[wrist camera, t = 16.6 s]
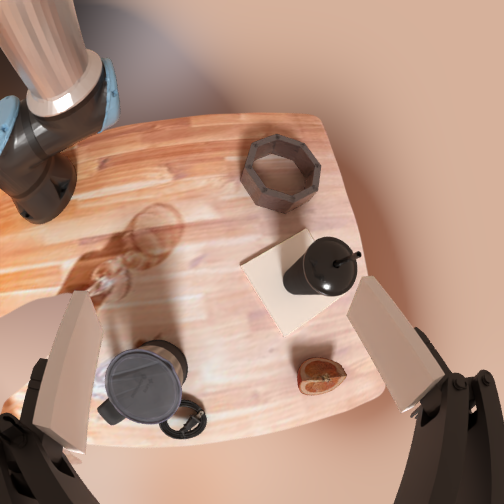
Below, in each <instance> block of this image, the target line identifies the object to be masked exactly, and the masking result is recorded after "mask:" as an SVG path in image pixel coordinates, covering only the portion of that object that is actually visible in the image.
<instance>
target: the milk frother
mask: <svg viewBox="0 0 504 504" xmlns="http://www.w3.org/2000/svg"><path fill="white" fill-rule="evenodd" d="M187 373H188V366H187V361H186V359H185V356H184V355H183V353H182V352H181V351H180V350H179V349H178V348H177V347H176V346H175V345H173V344H171V343H170V342H167V341H164V340H152V341H148V342H146V343H144V344H143V345H141V346H140V347H139V348H137V349H131V350H126V351H124V352H122V353H120V354H119V355H117V356H116V357H115V358H114V359H113V360H112V361H111V363H110V364H109V366H108V368H107V371H106V375H105V388H106V391H107V395H108V397H109V398H108V399H106V401H104V402H103V403H102V404H101V405H100V406H99V407H98V408H97V410H98V412H99V414H100V415H101V416H102V417H103V419H104V420H105V421H106V422H108V423H109V424H110V425H115V424H117V423H119V422H120V421H122V420H123V419H125V418H128V419H129V420H132V421H134V422H137V423H141V424H157V423H159V426H160V428H161V430H162V431H163V432H164V433H165V434H166V435H167V436H169V437H171V438H174V439H189V438H193V437H196V436H197V435H199V434H200V433H201V432H202V431H203V430H204V429H205V427H206V423H207V418H206V415H205V412H204V411H203V410H202V408H201V407H199V406H198V405H197V404H195V403H194V402H191V401H189V400H181V397H182V388H181V387H182V385H183V383H184V382H185V380H186V378H187ZM181 406H185V407H190V408H192V409H194V410H195V411H196V412H197V415H196V416H193V415H190V418H189V419H188V421H187V422H186V424H184V427H183V428H181V429H180V430H179V431H175V430H173V429H171V428H170V427H169V425H168V423H167V419H169V418H170V417H171V416H172V415H173V414H174V413H175V412H176V410H177V409H178V407H181ZM197 423H199V424H198V426H197V427H196V428H194V429H193V430H191V428H192V427H194V426H195V425H196V424H197ZM188 430H190V431H188Z"/></svg>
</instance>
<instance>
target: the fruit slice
mask: <svg viewBox="0 0 504 504" xmlns="http://www.w3.org/2000/svg"><path fill="white" fill-rule="evenodd" d="M346 376H347V374H346V373H345V371H344V368H342V366H341V365H340V364H339V363H337V362H334V361H332V360H329V359H325V358H310V359H308V360H306V361H304V362H303V363H302V364H301V366H300V368H299V371H298V375H297V381H298V388H299V390H300V392H301V393H303V394H305V395H318V394H323V393H326V392H329V391H331V390H333V389H335V388H336V387H337V386H339V385H340V384H341V383H342V382H343V380H344V379H345V378H346Z"/></svg>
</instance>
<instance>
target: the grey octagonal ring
mask: <svg viewBox="0 0 504 504" xmlns="http://www.w3.org/2000/svg"><path fill="white" fill-rule="evenodd" d="M269 154H275V155H278V156H281V157H284V158H287V159H290V160H293V161H294V162H295V164H296V165H297V167H298V168H299V169H300V171H301V172H302V174H303V175H304V176H305V178H306V179H305V185H304V190H303V191H301V192H299V193H297V194H295V195H293V196H291V195H288V194H285V193H282V192H278V191H275V190H272V189H269V188H266V187H265V185H264V184H263V182H262V181H261V179H260V178H259V176H258V175H257V173H256V172H255V170H254V169H253V167H252V165H253V162H254V160H257V159H259V158H262V157H264V156H267V155H269ZM320 171H321V165H320V163H319V162H318V161H317V159H316V158H315V157H314V155H313V154H312V153H311V151H310V150H309V149H308V147H307V146H306V145H305V143H302V142H300V141H297V140H294V139H291V138H288V137H285V136H282V135H279V134H275V135H272V136H269V137H267V138H264V139H261V140H258V141H256V142H253V143H252V144H251V147H250V150H249V154H248V157H247V160H246V164H245V167H244V170H243V173H242V177H241V180H240V181H241V183H242V184H243V186H244V187H245V189H246V190H247V192H248V193H249V195H250V196H251V198H252V199H253V201H254V203H255V204H256V205H258V206H261V207H265V208H268V209H271V210H275V211H278V212H281V213H287V212H289V211H291V210H293V209H295V208H297V207H299V206H300V205H302V204H304V203H306V202H308V201H309V200H310V199H311V198H312V197H313V195H314V194H315V193H316V192H317V191H318V186H319V179H320Z"/></svg>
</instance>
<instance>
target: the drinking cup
mask: <svg viewBox="0 0 504 504" xmlns="http://www.w3.org/2000/svg"><path fill="white" fill-rule="evenodd" d="M360 257H361V252H359V251H358V252H355V253H353V252H352V250H351V249H350V247H349V246H348V245H347V244H346V243H344V242H343V241H341V240H339V239H337V238H334V237H323V238H320V239H317V240H316V241H314V242H313V243H312V244H311V245H310V246H309V247H308V249H307V250H306V252H305V253H304V254H303V255H302V256H301V257H300V258H299V259H298V260H297V261H296V262H295V263H294V264H293V265H292V266H291V267H290V268H289V269H288V270H287V271H286V272H285V274H284V276H283V285H284V287H285V289H286V290H287V291H288V292H289V293H291V294H293V295H324V296H328V297H335V296H340V295H342V294H344V293H346V292H347V291H348V290H349V289H350V288H351V287H352V286H353V284H354V282H355V279H356V276H357V262H356V259H358V258H360Z"/></svg>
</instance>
